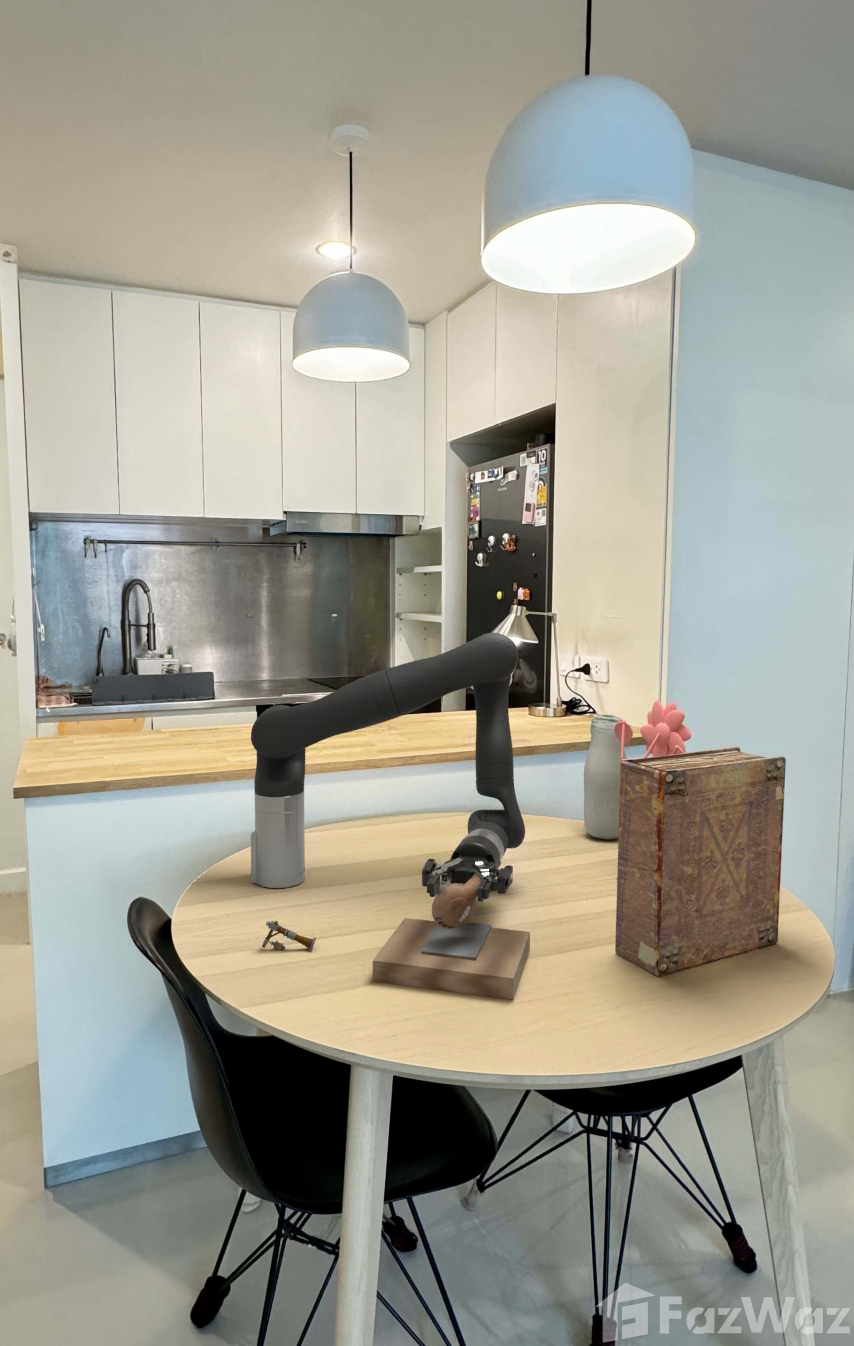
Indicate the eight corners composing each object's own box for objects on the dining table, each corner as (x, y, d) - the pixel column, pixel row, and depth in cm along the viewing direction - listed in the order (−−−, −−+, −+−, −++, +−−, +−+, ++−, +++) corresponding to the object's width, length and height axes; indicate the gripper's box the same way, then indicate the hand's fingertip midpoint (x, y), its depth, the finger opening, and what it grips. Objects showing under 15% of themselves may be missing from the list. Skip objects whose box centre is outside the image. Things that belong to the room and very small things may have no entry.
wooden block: (372, 980, 117) (372, 957, 116) (404, 935, 132) (404, 915, 132) (513, 999, 112) (513, 975, 111) (529, 950, 127) (530, 929, 127)
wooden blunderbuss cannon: (258, 941, 128) (269, 915, 127) (305, 961, 128) (317, 936, 128) (255, 946, 126) (267, 920, 126) (303, 967, 126) (315, 941, 126)
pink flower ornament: (677, 912, 142) (687, 711, 140) (587, 867, 166) (595, 694, 163) (743, 901, 149) (755, 708, 146) (648, 859, 172) (657, 693, 169)
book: (731, 923, 138) (739, 746, 135) (778, 944, 130) (787, 756, 127) (614, 953, 126) (620, 760, 123) (657, 978, 118) (665, 772, 115)
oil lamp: (478, 916, 127) (480, 866, 126) (492, 926, 124) (493, 875, 123) (427, 926, 123) (428, 875, 122) (439, 937, 120) (440, 884, 119)
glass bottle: (623, 832, 191) (627, 712, 188) (629, 845, 181) (633, 718, 178) (580, 830, 192) (583, 711, 189) (584, 843, 182) (587, 717, 179)
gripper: (436, 831, 138) (408, 863, 122) (521, 838, 134) (504, 872, 118) (436, 875, 139) (408, 912, 123) (521, 882, 135) (504, 922, 119)
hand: (455, 892), depth 121 cm, fingers closed on oil lamp, 6 cm apart
